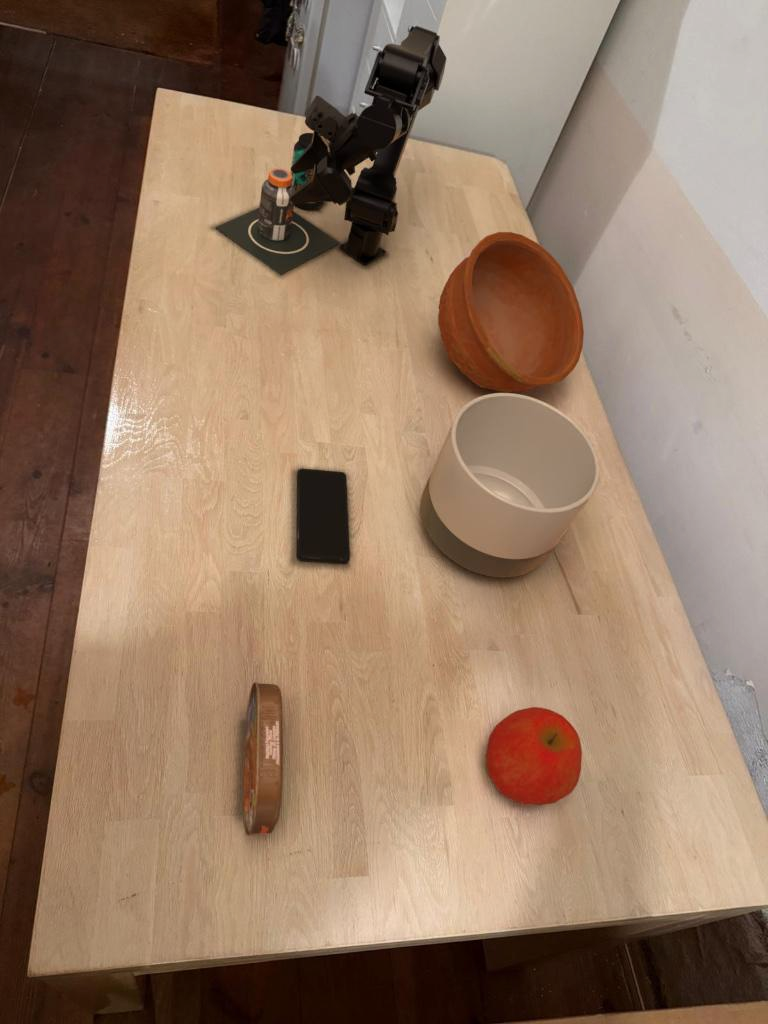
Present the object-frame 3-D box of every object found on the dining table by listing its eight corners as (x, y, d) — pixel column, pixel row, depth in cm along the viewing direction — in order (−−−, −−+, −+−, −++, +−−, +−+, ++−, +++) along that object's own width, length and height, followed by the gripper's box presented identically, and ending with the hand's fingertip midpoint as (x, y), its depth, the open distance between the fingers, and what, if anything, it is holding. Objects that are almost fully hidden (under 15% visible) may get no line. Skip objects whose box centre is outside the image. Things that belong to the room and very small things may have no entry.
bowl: (385, 350, 117) (444, 313, 104) (440, 243, 127) (499, 197, 115) (494, 440, 126) (560, 416, 114) (537, 334, 137) (601, 301, 124)
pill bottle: (289, 244, 134) (297, 186, 125) (256, 238, 133) (262, 179, 124) (290, 225, 138) (298, 167, 129) (258, 219, 137) (264, 161, 128)
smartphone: (296, 558, 94) (297, 467, 103) (296, 561, 95) (296, 471, 104) (350, 561, 96) (346, 471, 105) (349, 564, 96) (345, 475, 105)
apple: (576, 799, 85) (619, 770, 76) (498, 826, 81) (535, 798, 73) (538, 715, 90) (574, 679, 82) (463, 736, 86) (493, 701, 78)
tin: (246, 700, 83) (252, 668, 76) (274, 700, 84) (283, 669, 77) (241, 844, 74) (248, 822, 67) (273, 843, 75) (283, 821, 68)
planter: (438, 597, 97) (482, 518, 83) (398, 481, 107) (431, 394, 93) (566, 580, 103) (626, 504, 89) (516, 472, 113) (564, 389, 100)
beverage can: (316, 216, 142) (326, 156, 133) (282, 203, 142) (289, 142, 133) (328, 199, 147) (338, 139, 137) (294, 186, 147) (303, 126, 137)
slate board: (276, 201, 142) (276, 199, 142) (339, 244, 138) (339, 242, 138) (215, 228, 133) (215, 226, 133) (281, 275, 129) (281, 273, 129)
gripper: (340, 59, 116) (262, 116, 122) (344, 115, 104) (257, 175, 110) (378, 120, 123) (303, 171, 129) (385, 179, 112) (302, 232, 118)
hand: (291, 185), depth 122 cm, fingers open, 9 cm apart
